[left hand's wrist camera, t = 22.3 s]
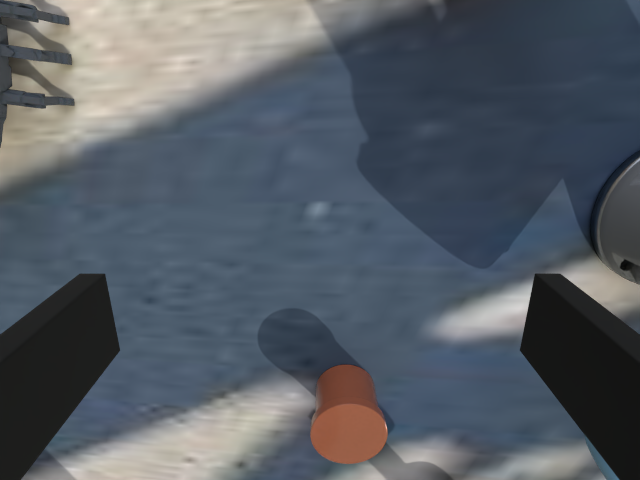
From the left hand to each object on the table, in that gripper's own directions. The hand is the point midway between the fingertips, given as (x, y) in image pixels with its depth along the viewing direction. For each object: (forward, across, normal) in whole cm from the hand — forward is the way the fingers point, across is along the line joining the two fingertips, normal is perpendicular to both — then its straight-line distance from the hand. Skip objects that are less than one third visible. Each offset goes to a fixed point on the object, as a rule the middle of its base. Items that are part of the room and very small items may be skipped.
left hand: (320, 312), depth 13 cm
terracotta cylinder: (+29, -3, +27) cm, 40 cm away
